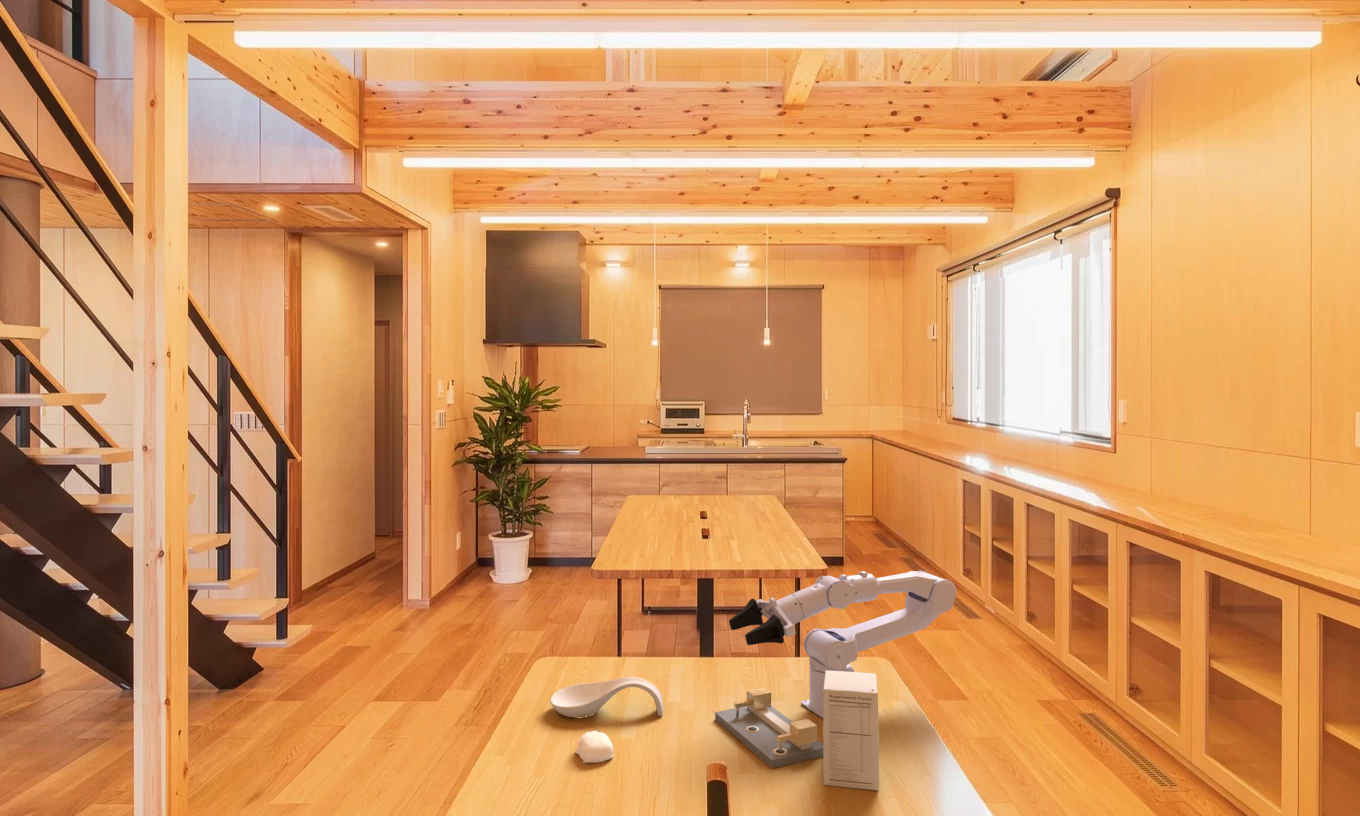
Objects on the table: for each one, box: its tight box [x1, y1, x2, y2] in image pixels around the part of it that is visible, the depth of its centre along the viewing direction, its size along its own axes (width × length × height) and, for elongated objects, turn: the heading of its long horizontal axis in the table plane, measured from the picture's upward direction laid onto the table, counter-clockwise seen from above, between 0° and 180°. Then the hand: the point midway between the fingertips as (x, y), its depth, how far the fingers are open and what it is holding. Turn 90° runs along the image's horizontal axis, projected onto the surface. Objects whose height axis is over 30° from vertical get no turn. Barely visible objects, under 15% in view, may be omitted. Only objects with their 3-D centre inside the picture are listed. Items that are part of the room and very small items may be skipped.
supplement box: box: [822, 670, 880, 791], centre depth 133 cm, size 10×9×17 cm
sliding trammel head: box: [734, 687, 772, 717], centre depth 154 cm, size 8×3×4 cm, turn 115°
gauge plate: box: [714, 705, 823, 769], centre depth 148 cm, size 12×22×6 cm, turn 25°
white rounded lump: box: [574, 730, 614, 764], centre depth 141 cm, size 8×7×4 cm
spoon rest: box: [549, 676, 664, 719], centre depth 159 cm, size 24×12×7 cm, turn 90°
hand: (738, 632), depth 154 cm, fingers open, 7 cm apart
